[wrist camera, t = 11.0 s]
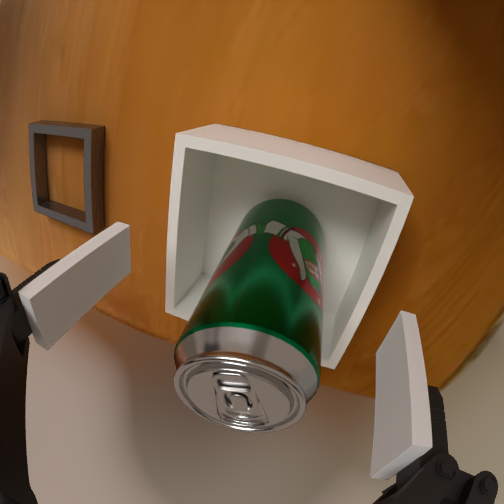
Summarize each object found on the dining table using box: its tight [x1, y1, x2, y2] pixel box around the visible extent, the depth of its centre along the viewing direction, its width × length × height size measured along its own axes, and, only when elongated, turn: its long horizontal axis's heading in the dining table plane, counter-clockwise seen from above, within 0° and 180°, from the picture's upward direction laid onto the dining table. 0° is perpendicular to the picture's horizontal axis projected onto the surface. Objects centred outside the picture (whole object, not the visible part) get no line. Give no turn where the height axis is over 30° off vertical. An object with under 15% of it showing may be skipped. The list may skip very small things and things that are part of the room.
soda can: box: [174, 199, 323, 433], centre depth 14 cm, size 5×5×12 cm
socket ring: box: [29, 121, 105, 234], centre depth 23 cm, size 9×9×2 cm
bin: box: [165, 124, 414, 369], centre depth 18 cm, size 11×11×5 cm
